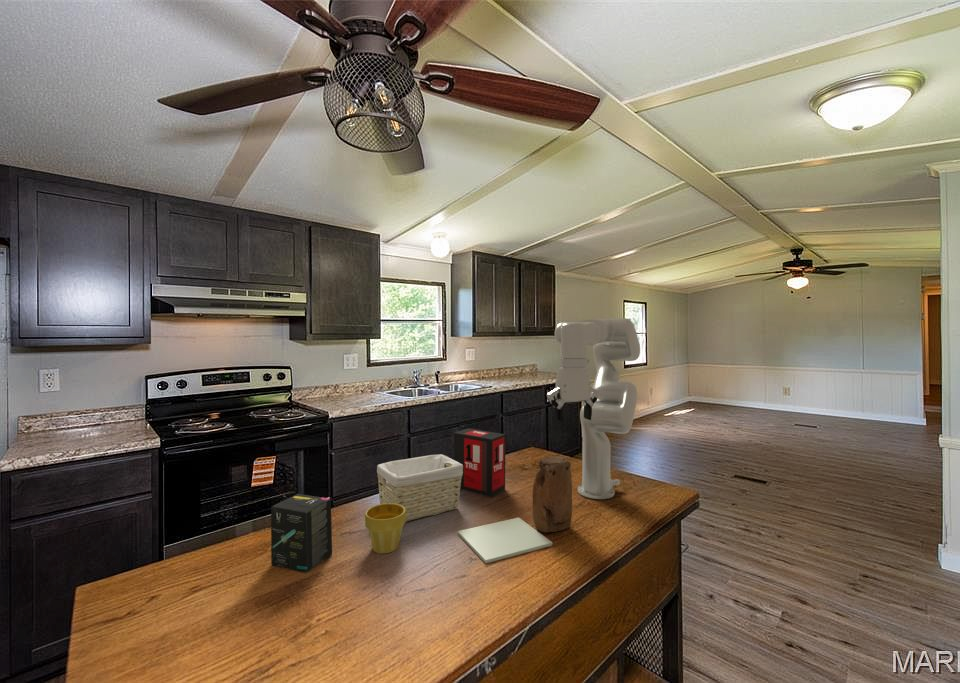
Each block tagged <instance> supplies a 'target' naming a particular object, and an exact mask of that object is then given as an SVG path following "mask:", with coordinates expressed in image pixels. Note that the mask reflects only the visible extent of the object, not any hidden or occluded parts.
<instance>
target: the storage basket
mask: <svg viewBox="0 0 960 683" xmlns="http://www.w3.org/2000/svg"><path fill="white" fill-rule="evenodd" d="M376 473H377V479H378V495H379V504H384V503H395V504H399V505H402V506H403V507H404V508H405V510H406V519H405V523H406V522H409V521H413V520H417V519H418V520H419V519H421V518H424V517H429V516H435V515H438V514H441V513H444V512H449V511H453V510H457V509H458V508H459V502H460V492H461V491H460V490H461V489H460V486H461V479H462V475H463V465H462V464H460V463H459V462H457V461H455V460H454V458H453V459H452V458H450V457H449V456H447V455H444V454H441V453H440V454H430V455H423V456H417V457H411V458H406V459H398V460H392V461H387V462H383V463H379V464H377V465H376Z"/></svg>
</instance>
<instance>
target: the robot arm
mask: <svg viewBox="0 0 960 683" xmlns="http://www.w3.org/2000/svg"><path fill="white" fill-rule="evenodd" d="M554 339H555V341H556V343H558V345H560V367H559V368H557V371H556V372H557V373H556V378H555V388H554V389H553V390H551V391H549V392H547V394H546V397H547V399H548V401H549V404H550V405H552V407H553V408H554V418H555V421H557V422H558V423H563V422H564V418H563V417H564V416H563V415H564V410H563V408H562V407H563V406H564V404H565V403H576V402H577V403H578V402H583V403H584V405H582V407H581V408H580V411H579V419H580V424H581V434H582V454H581V455H582V461H581V462H582V468H581V470H582V471H581V472H582V473H581V474H582V477H581V478H582V479H581V482H582V483H581V485H579V486H577V493H578V494H579V495H581V497H582V496H583V497H585V498H589V499H593V500H607V499H611V498H614V496H615V494H616V493H615V489H614V488H613V487H614V486H619V485H620V484H621V480H620V479H619V478H617V479H612V478H611V449H612V448H611V447H612V446H611V442H610V440H609V437H608V436H607V435H606V433H612V434H619V435H624V434H628V433H629V432H630V431H631V429H632V425H633V424H634V423H633V422H634V416H635V412H636V407H637V401H638V390H637V387H636V386H635V384H634V383H632V382H629V381H621V380H620V379H621V373H620V371H619V370H618V368H617V367H616V366H615V364H613V363H612V362H611V361H617V362H618V361H622V362H625V361H626V362H633V361H636V360H638V359H639V357H640V355H641V346H640V345H641V344H640V341H639V337H638V334H637V330H636V327H635V325H634V323H633V322H632V321H631V319H629V318H623V317H621V318H620V317H619V318H618V317H617V318H612V317H611V318H594V319H593V318H592V319H583V320H575V321H574V320H573V321H561V322H560V323H558V324H557V325H556V327H555V329H554ZM587 347H592V352H593V354H592V355H593V359H594V364H595V368H596V375H595V379H594V381H593V384H592V385H591V376H590V371H589V368H588V364H589V365H590V363H591V361H590V359H588V357H587ZM554 397H555V398H554ZM555 399H556V400H555Z"/></svg>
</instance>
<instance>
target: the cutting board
mask: <svg viewBox="0 0 960 683" xmlns="http://www.w3.org/2000/svg"><path fill="white" fill-rule="evenodd" d="M457 535H458V536H459V537H460V538H461V539H462V540H463V541H464V542H465V543H466V544H467V545H468V547H470V549H471V550H472V551H473V552H474V553H475V554H476V555H477V556H478V557H479V558H480V559H481V561H483V562H484V564H489V563H492V562H496V561H500V560H504V559H507V558H510V557H511V558H512V557H514V556H518V555H521V554H526V553H529V552H532V551H533V552H534V551H536V550H541V549H544V548H548V547H552V546H553V541H551V540H550V539H549V538H547V537H546V536H544V534H542V533H541V532H540V531H539V530H537V529H535V528H533V527H532V526H531V525H530V524H528V523H527V522H525V521H524V520H523V519H522V518H520V517H514V518H510V519H505V520H502V521H497V522H493V523H488V524H483V525H479V526H475V527H470V528H466V529H461V530H457Z"/></svg>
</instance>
